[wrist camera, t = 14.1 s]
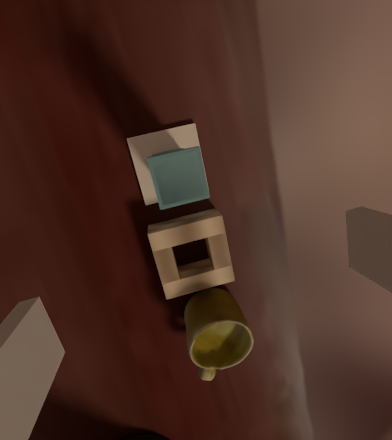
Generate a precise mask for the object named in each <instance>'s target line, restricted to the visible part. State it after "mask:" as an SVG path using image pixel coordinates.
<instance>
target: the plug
mask: <svg viewBox="0 0 392 440" xmlns="http://www.w3.org/2000/svg"><path fill="white" fill-rule="evenodd" d="M147 162H148V165H149V169H150V173H151V177H152V180H153V184H154V188H155V192H156V195H157V199H158V203H159V207H160V210H163V209H167V208H171V207H175V206H179V205H183V204H187V203H191V202H195V201H199V200H203V199H207V198H210V196H209V191H208V186H207V181H206V176H205V171H204V166H203V161H202V156H201V151H200V146H196V147H191V148H187V149H184V148H177V149H173V150H168V151H164V152H160V153H155V154H152V157H148V158H147Z"/></svg>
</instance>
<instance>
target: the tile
mask: <svg viewBox="0 0 392 440" xmlns="http://www.w3.org/2000/svg"><path fill="white" fill-rule="evenodd" d="M127 142H128V145H129V149H130V152H131V156H132V159H133V163H134V166H135V170H136V173H137V177H138V180H139V184H140V187H141V191H142V194H143V198H144V201H145V205H150V204H154V203H158V199H157V195H156V192H155V188H154V184H153V180H152V177H151V173H150V169H149V165H148V162H147V158H148V157H152V154H155V153H160V152H164V151H168V150H173V149H177V148H184V149H187V148H191V147H196V146H200V145H199V140H198V135H197V130H196V126H195V123H193V124H189V125H184V126H180V127H175V128H171V129H166V130H162V131H158V132H153V133H149V134H144V135H140V136H135V137H131V138H127ZM200 151H201V150H200ZM201 156H202V155H201ZM202 161H203V160H202ZM203 166H204V164H203ZM204 171H205V169H204ZM205 176H206V174H205ZM206 181H207V179H206ZM207 186H208V184H207ZM208 190H209V189H208Z"/></svg>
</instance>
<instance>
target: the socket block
mask: <svg viewBox="0 0 392 440" xmlns="http://www.w3.org/2000/svg"><path fill="white" fill-rule="evenodd" d="M148 238H149V241H150V245H151V248H152V252H153V255H154V258H155V262H156V265H157V269H158V272H159V275H160V279H161V282H162V286H163V289H164V292H165V296H166V299H167V300H168V299H171V298H175V297H178V296H182V295H186V294H189V293H193V292H196V291H200V290H203V289H207V288H210V287H214V286H218V285H221V284H225V283H228V282H232V281H235V279H234V274H233V269H232V263H231V258H230V253H229V248H228V243H227V238H226V233H225V228H224V223H223V217H222V215H221V214H220V213H219V212H218V210H217V209H216V208H214V209H210V210H206V211H202V212H198V213H194V214H190V215H187V216H183V217H179V218H175V219H171V220H167V221H163V222H159V223H155V224H151V225H148ZM203 238H205V243H206V247H207V252H208V256H209V258H208V259H204V260H200V261H197V262H193V263H189V264H186V265H182V266H178V267H177V264H176V260H175V256H174V252H173V249H172V247H173V246H177V245H181V244H184V243H188V242H192V241H196V240H199V239H203Z"/></svg>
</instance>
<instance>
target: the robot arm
mask: <svg viewBox="0 0 392 440" xmlns="http://www.w3.org/2000/svg"><path fill="white" fill-rule="evenodd" d="M346 221H347V222H346V223H347V240H348V253H349V254H348V255H349V267H350V268H352V269H354V270H355V271H357V272H359V273H360V274H362V275H364V276H365V277H367V278H369V279H370V280H372V281H374V282H375V283H377V284H379V285H380V286H382V287H383V288H385V289H387V290H388V291H390V292H392V215H390V214H386V213H382V212H379V211H376V210H372V209H368V208H365V207H358V208H355V209H351V210H347V211H346ZM64 353H65V351H64V349H63V347H62V345H61V342H60V340H59V338H58V336H57V334H56V332H55V330H54V327H53V325H52V323H51V321H50V319H49V317H48V315H47V312H46V310H45V308H44V306H43V304H42V302H41V300H40V297H36V298H33V299H29V300H26V301H22V302H19V303H18V304H17V305H16V307H15V308H14V309H13V310H12V311H11V312H10V314H9V315H8V316H7V317H6V318H5V319H4V321H3V322H2V323H1V324H0V440H28V439H29V437H30V434H31V432H32V430H33V427H34V425H35V422H36V420H37V418H38V415H39V413H40V410H41V408H42V406H43V403H44V401H45V399H46V396H47V394H48V391H49V389H50V387H51V384H52V382H53V380H54V377H55V375H56V372H57V370H58V368H59V365H60V363H61V361H62V358H63V356H64ZM121 440H168V439H166V438H164V437H161V436H158V435H153V434H138V435H133V436H129V437H126V438H123V439H121Z"/></svg>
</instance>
